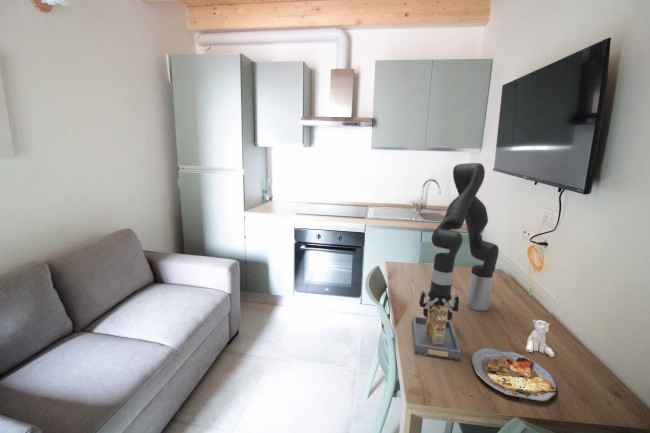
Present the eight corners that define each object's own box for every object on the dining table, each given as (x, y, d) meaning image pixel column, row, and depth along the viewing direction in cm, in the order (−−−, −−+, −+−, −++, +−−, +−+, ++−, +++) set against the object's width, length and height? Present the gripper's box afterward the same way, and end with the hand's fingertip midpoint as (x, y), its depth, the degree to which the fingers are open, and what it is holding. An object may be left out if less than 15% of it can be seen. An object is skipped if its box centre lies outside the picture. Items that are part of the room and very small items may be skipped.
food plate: (537, 359, 114) (539, 351, 113) (571, 412, 92) (573, 402, 91) (465, 349, 120) (466, 341, 119) (480, 396, 98) (482, 387, 97)
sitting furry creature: (526, 353, 118) (532, 325, 115) (518, 339, 126) (524, 313, 123) (554, 358, 116) (561, 330, 113) (545, 344, 124) (551, 317, 121)
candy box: (443, 344, 120) (448, 309, 116) (433, 345, 120) (437, 309, 116) (433, 331, 129) (438, 298, 125) (424, 331, 128) (428, 298, 125)
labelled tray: (450, 328, 132) (451, 321, 132) (460, 361, 112) (461, 353, 111) (412, 322, 136) (412, 315, 135) (414, 353, 116) (415, 345, 115)
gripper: (459, 278, 120) (454, 315, 124) (421, 274, 123) (417, 310, 127) (463, 286, 113) (457, 325, 117) (423, 282, 116) (418, 320, 120)
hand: (436, 317), depth 122 cm, fingers open, 8 cm apart
